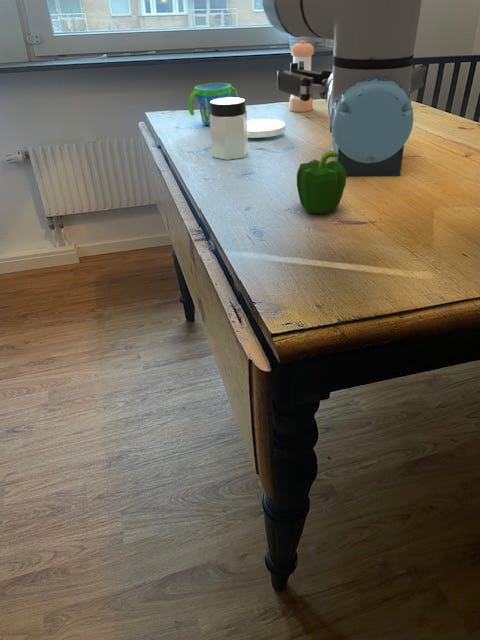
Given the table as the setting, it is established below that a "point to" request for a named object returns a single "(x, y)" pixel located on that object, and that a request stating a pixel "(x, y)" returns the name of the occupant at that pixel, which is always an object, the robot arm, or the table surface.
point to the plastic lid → (264, 128)
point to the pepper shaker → (304, 54)
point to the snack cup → (209, 97)
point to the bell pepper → (321, 184)
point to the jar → (228, 128)
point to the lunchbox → (370, 164)
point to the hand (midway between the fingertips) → (346, 69)
